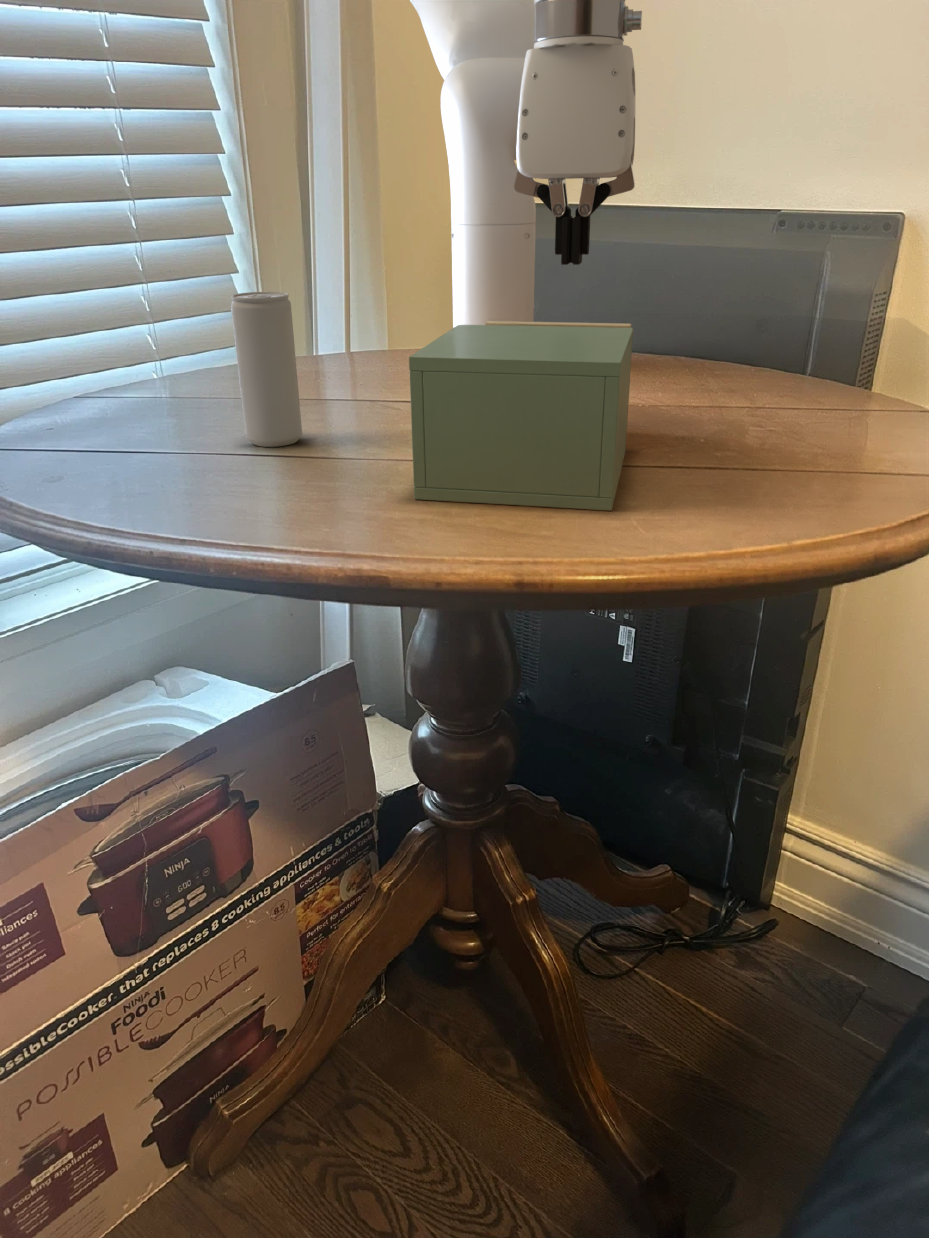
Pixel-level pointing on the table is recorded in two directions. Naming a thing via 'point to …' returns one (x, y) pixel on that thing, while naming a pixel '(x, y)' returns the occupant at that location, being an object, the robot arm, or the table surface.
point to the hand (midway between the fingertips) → (571, 263)
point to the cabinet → (521, 415)
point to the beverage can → (267, 367)
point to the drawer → (559, 324)
